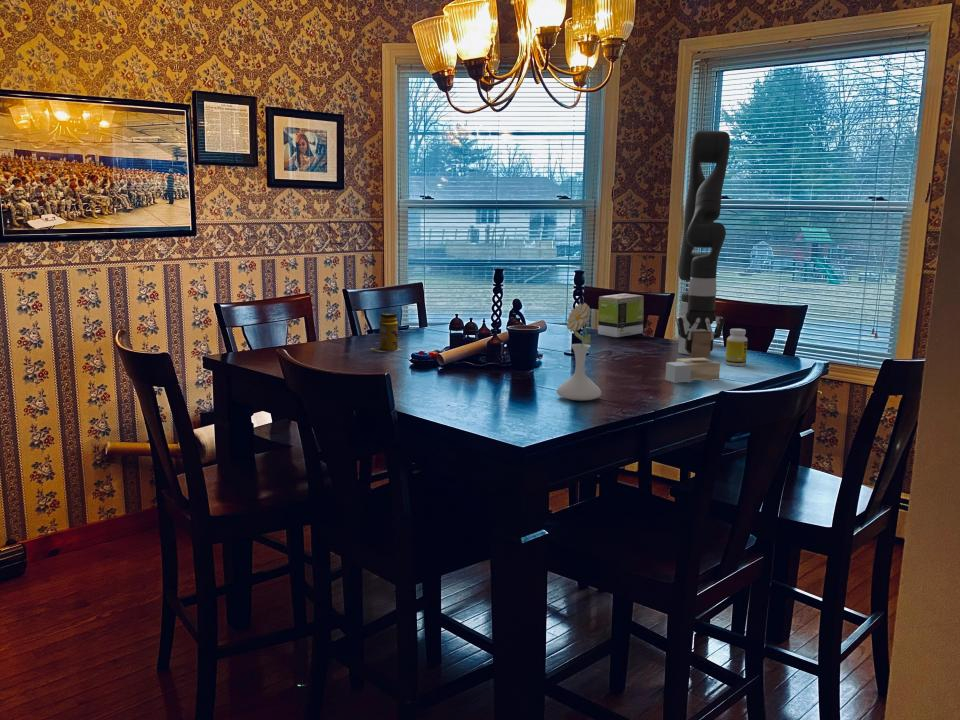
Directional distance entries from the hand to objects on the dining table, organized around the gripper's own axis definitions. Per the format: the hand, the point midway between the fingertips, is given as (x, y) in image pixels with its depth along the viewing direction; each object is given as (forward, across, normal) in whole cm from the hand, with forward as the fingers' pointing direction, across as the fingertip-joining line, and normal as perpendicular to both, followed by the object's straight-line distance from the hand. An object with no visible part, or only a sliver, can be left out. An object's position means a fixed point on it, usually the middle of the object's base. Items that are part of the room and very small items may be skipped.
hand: (698, 352), depth 240 cm
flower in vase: (+8, +39, +27) cm, 48 cm away
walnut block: (+1, 0, 0) cm, 1 cm away
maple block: (+8, 0, 0) cm, 8 cm away
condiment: (+7, +92, -42) cm, 101 cm away
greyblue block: (+7, +7, +5) cm, 11 cm away
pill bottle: (+7, -18, -19) cm, 27 cm away
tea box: (+7, +6, -77) cm, 78 cm away
